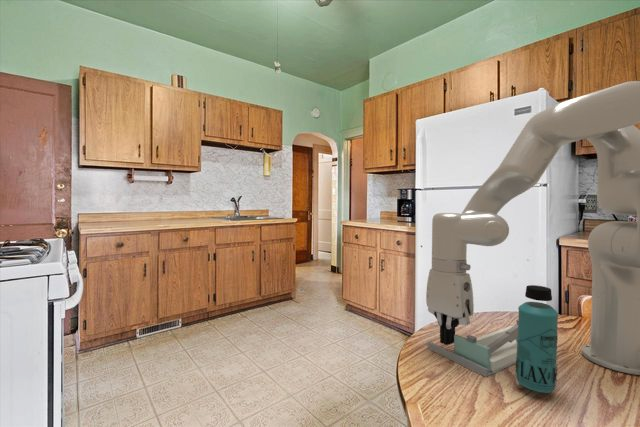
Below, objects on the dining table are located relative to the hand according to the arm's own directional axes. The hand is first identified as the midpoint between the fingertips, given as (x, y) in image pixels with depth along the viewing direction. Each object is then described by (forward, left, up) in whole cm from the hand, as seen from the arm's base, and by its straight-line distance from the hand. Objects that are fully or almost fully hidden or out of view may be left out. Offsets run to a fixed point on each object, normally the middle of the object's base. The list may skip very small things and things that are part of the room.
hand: (447, 342), depth 74 cm
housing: (-3, -12, -3) cm, 12 cm away
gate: (-6, 0, -2) cm, 7 cm away
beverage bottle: (-18, -2, -3) cm, 18 cm away
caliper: (-6, -11, -2) cm, 13 cm away
